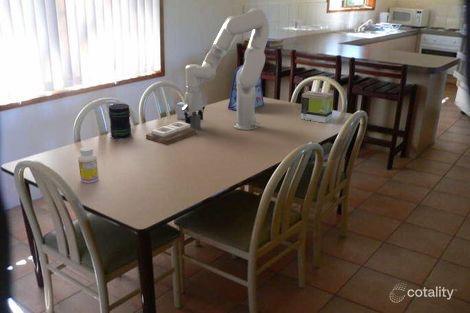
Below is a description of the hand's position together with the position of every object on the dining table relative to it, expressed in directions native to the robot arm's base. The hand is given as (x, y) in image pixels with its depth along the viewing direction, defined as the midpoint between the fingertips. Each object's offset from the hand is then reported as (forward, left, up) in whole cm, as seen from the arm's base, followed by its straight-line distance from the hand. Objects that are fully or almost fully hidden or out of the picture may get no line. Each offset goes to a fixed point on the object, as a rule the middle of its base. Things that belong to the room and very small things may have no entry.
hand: (194, 121), depth 236 cm
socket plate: (+1, +17, -1) cm, 17 cm away
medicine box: (+16, -10, -4) cm, 19 cm away
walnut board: (0, +17, -3) cm, 17 cm away
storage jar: (+20, +32, -4) cm, 38 cm away
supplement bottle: (-13, +75, -4) cm, 76 cm away
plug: (0, 0, -3) cm, 3 cm away
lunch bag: (+3, -51, -4) cm, 51 cm away
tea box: (-43, -54, -4) cm, 69 cm away
